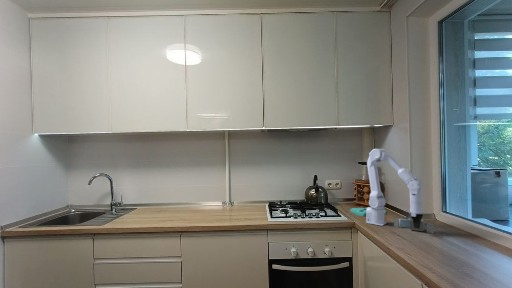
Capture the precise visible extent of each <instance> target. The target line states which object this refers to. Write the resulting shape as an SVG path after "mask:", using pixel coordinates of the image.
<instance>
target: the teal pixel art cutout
mask: <svg viewBox="0 0 512 288" xmlns="http://www.w3.org/2000/svg"><path fill="white" fill-rule="evenodd" d="M367 208H368V207H353V208H350V210H349V211H350V213H352V214H354V215H356V216H360V217H366V210H367ZM384 214H387V209H384Z"/></svg>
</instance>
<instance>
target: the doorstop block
mask: <svg viewBox="0 0 512 288" xmlns="http://www.w3.org/2000/svg"><path fill="white" fill-rule="evenodd" d="M409 219H410V224H411V228H410V231H418V232H424V231H425V230H424V229H425V223H424V224H423V220H424V219H421V222H420V228H419V229H418V228H415V227H414V223H413V220H412V218H409Z"/></svg>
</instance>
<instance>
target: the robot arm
mask: <svg viewBox="0 0 512 288" xmlns="http://www.w3.org/2000/svg"><path fill="white" fill-rule="evenodd" d="M368 155H369V156H368V158H367V161H366V165H367V173H368V180H369V186H370V194H369V200H368V205H369V206H368V207H366V208H367V210H366V215H365V219H366V220H365V223H366V224H371V225H377V226H384V225H386V224H387V223H388V222H387V221H385V213H384V210H385V205H386V203H387V200H386V198H385V197H384V193H383V192H382V190H381V183H380V177H379V170H378V165H379V163H380V162H381V161H382V162H386V163H388V165H390V166H391V167H392V168H393V169H394V170H395V171H396V172H397V176H398V177H399V178H400V179H401V180H402V181H403V182H404V183H405V184H406V186H407V189H408V190H409V216H410V219H412V220H413V223H414V227H415V228H418V229H419V228H420V222H421V220H423V218H424V214H426V211H425V210H423V209H424V208H423V192H422V189H423V187H424V183H423V181H422V180H421V179H418V177H417V176H415V175H414V174H413V173H412V172H411V170H410V169H408V168H406V167H405V168H404V167H402V165H401V164H399V162H398V161H397V160H396V159H395V158H394V157H393V155H392V154H391V153H390V152H389V151H387V149H385V148H373V149H372V150H371V151H370V152H369V153H368Z"/></svg>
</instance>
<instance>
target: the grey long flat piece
mask: <svg viewBox="0 0 512 288" xmlns="http://www.w3.org/2000/svg"><path fill="white" fill-rule="evenodd" d="M401 219H402V218H396V217H394V218H393V227H394V228H399V227H400V229H401V228H402V227H401ZM426 233H428V234H434V233H435V224H434V223H428V222H427V223H426Z"/></svg>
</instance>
